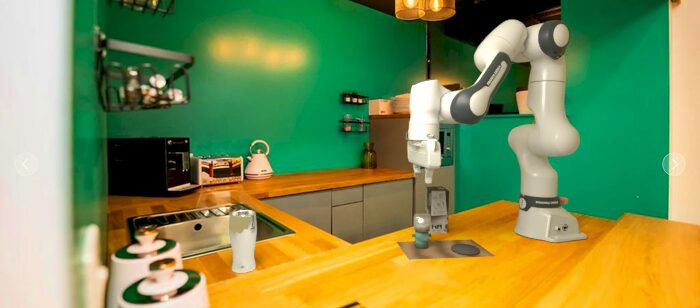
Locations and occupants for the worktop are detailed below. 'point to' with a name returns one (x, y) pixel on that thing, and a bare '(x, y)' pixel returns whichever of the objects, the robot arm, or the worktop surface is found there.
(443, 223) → the coffee box
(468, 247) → the pad
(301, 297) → the worktop surface
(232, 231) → the beer glass
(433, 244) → the base board
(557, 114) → the robot arm
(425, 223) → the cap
